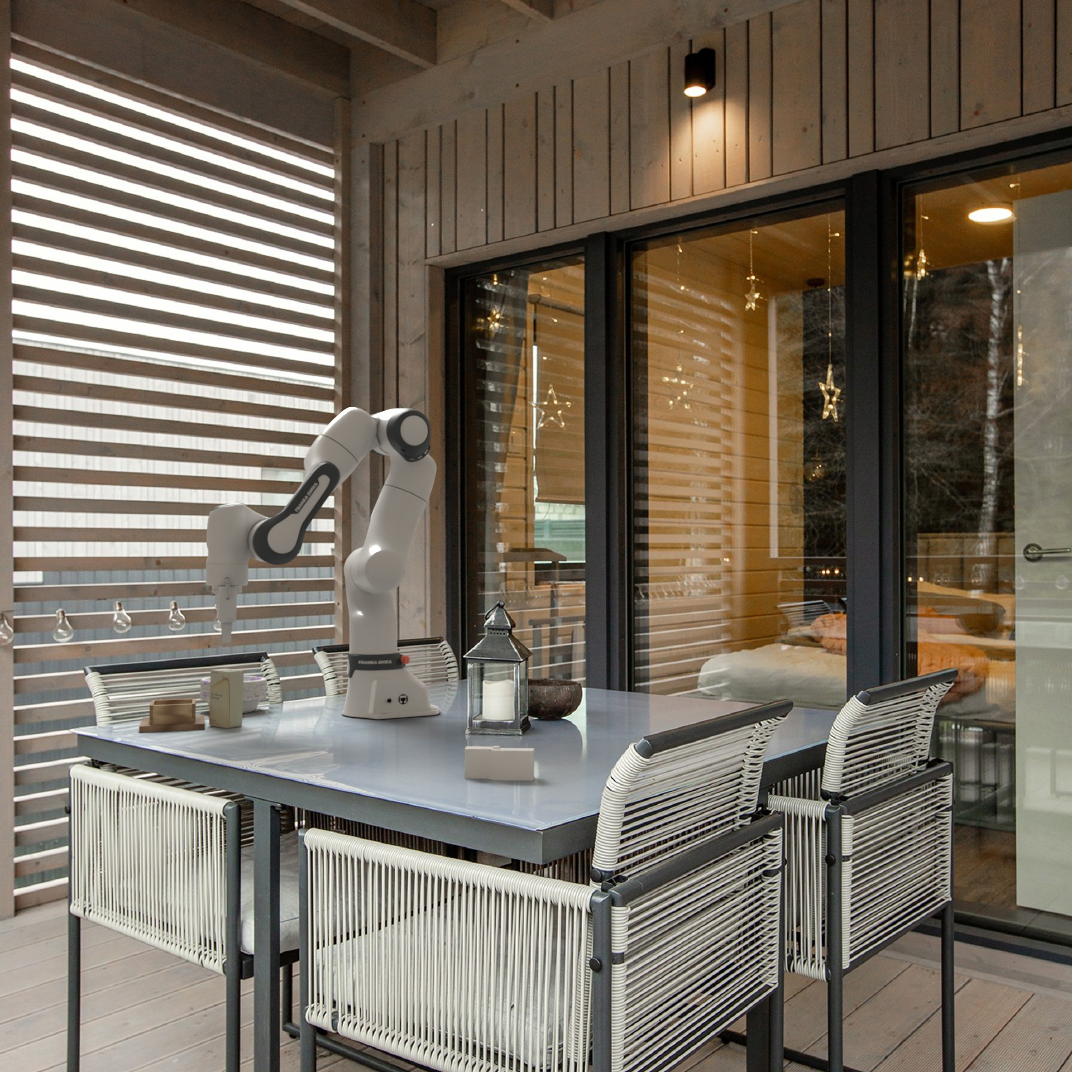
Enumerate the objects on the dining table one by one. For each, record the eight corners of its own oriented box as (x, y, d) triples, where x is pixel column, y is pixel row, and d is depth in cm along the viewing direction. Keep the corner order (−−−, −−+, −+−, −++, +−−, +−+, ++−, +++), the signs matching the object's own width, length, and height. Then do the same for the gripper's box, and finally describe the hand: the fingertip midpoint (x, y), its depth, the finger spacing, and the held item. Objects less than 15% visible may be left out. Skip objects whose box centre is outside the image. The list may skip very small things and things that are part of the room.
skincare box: (208, 726, 229) (208, 669, 229) (224, 723, 232) (225, 667, 233) (227, 728, 225) (228, 671, 225) (244, 725, 229) (244, 669, 229)
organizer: (204, 720, 237) (204, 696, 237) (204, 729, 224) (204, 704, 224) (142, 722, 233) (143, 699, 233) (139, 732, 220) (139, 707, 220)
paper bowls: (276, 707, 257) (276, 674, 257) (251, 717, 242) (251, 682, 242) (217, 706, 259) (217, 673, 259) (188, 715, 244) (188, 681, 244)
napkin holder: (553, 781, 175) (553, 746, 176) (507, 792, 167) (507, 756, 167) (488, 768, 185) (488, 736, 185) (441, 779, 177) (441, 744, 177)
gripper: (243, 578, 220) (242, 644, 220) (240, 576, 240) (239, 637, 240) (212, 578, 219) (211, 645, 218) (211, 576, 238) (210, 637, 238)
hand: (226, 641), depth 229 cm, fingers open, 8 cm apart
